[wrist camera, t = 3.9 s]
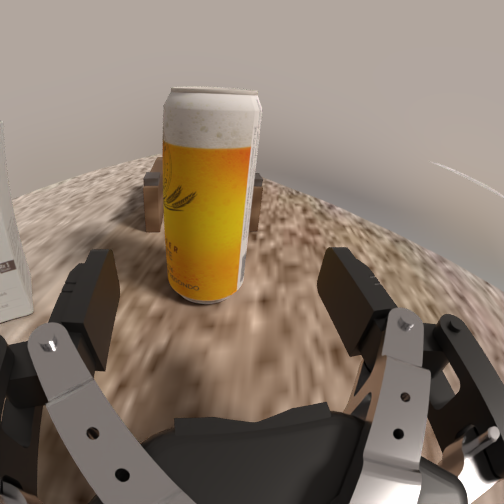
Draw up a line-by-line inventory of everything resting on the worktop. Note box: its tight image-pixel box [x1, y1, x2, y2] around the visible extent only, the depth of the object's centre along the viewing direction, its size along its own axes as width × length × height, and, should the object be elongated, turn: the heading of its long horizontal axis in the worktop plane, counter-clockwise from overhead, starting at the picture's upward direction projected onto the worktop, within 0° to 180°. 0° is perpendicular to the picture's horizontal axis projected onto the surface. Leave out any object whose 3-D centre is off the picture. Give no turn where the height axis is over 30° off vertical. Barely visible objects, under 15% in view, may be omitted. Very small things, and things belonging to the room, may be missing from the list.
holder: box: [143, 157, 263, 232], centre depth 34 cm, size 12×12×6 cm
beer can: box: [163, 87, 262, 304], centre depth 20 cm, size 6×6×15 cm
